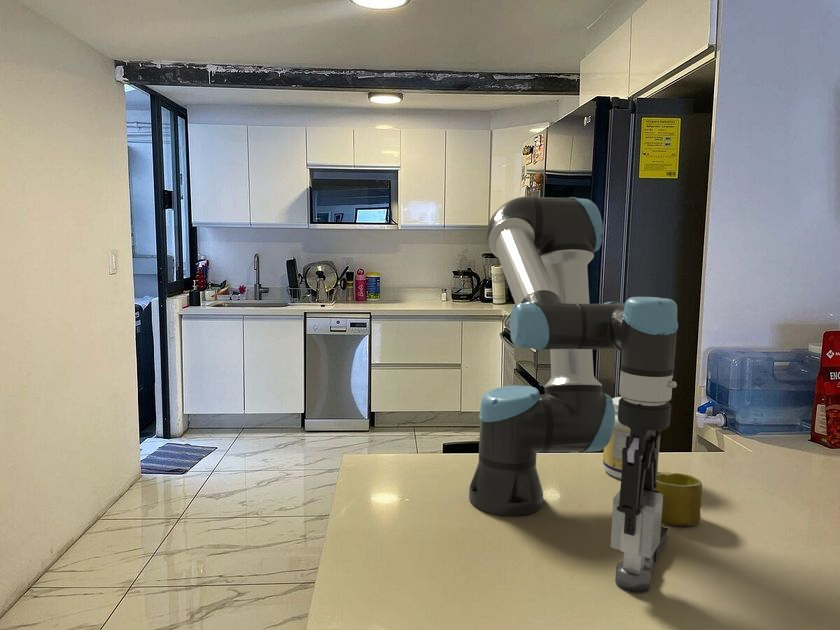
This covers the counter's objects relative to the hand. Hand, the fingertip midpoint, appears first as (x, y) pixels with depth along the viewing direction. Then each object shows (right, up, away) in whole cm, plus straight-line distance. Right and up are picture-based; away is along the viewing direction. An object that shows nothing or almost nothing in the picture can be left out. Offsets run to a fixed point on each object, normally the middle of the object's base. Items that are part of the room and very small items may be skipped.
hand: (635, 543), depth 98 cm
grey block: (0, 0, 0) cm, 0 cm away
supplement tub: (+15, -1, +48) cm, 50 cm away
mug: (+16, -4, +26) cm, 31 cm away
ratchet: (+4, -6, +7) cm, 10 cm away
